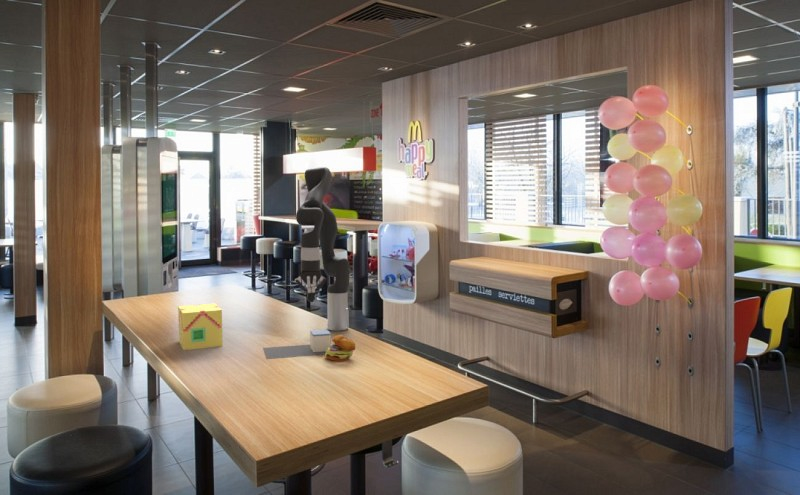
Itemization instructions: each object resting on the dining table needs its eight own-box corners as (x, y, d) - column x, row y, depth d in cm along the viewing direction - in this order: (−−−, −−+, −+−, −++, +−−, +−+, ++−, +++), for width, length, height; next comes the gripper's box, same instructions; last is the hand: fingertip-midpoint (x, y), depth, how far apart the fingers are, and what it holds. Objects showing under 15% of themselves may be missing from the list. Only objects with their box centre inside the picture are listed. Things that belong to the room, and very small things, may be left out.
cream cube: (310, 330, 236) (310, 347, 236) (313, 334, 229) (313, 352, 230) (327, 329, 238) (327, 346, 239) (330, 333, 231) (330, 350, 232)
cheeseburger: (324, 354, 227) (330, 330, 227) (351, 360, 228) (357, 336, 228) (323, 361, 217) (329, 336, 217) (351, 368, 218) (357, 342, 218)
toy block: (183, 350, 232) (182, 313, 230) (179, 341, 245) (178, 306, 243) (222, 345, 239) (221, 310, 237) (215, 337, 252) (215, 303, 250)
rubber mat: (328, 343, 243) (328, 343, 243) (336, 354, 228) (336, 353, 228) (262, 348, 235) (262, 347, 235) (266, 359, 220) (266, 359, 220)
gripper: (325, 256, 235) (325, 299, 237) (292, 257, 230) (292, 300, 232) (329, 259, 228) (329, 302, 229) (295, 260, 223) (295, 304, 225)
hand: (310, 301), depth 231 cm, fingers closed
